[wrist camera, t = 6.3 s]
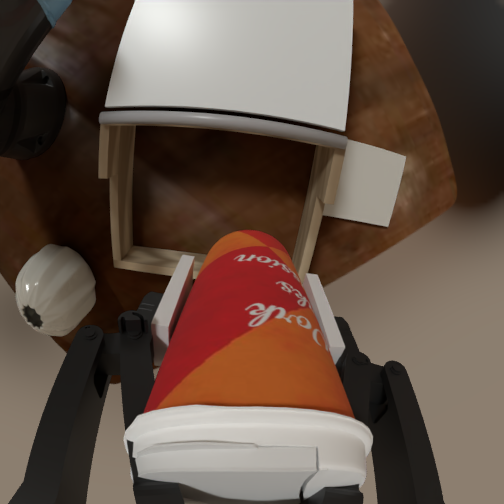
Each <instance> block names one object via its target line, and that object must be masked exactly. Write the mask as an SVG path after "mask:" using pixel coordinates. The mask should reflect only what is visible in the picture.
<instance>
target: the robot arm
mask: <svg viewBox="0 0 504 504" xmlns="http://www.w3.org/2000/svg"><path fill="white" fill-rule="evenodd" d="M71 2H72V0H0V156H1V157H7V158H12V159H18V160H26V159H30V158H33V157H36V156H39V155H40V154H42V153H43V152H45V151H46V150H47V149H48V148H49V147H50V146H51V144H52V143H53V142H54V140H55V138H56V137H57V135H58V133H59V130H60V128H61V125H62V122H63V118H64V113H65V102H66V100H65V90H64V86H63V83H62V81H61V79H60V77H59V76H58V75H57V74H56V73H55V72H54V71H53V70H51V69H47V68H39V67H35V68H30V69H27V70H24V68H25V66H26V65H27V63H28V61H29V60H30V58H31V57H32V55H33V54H34V52H35V51H36V49H37V48H38V46H39V45H40V44H41V42H42V41H43V39H44V38H45V37H46V35H47V34H48V33H49V31H50V30H51V29H52V28H54V27H55V25H56V22H57V20H58V19H59V18H60V16H61V15H62V14H63V12H64V11H65V10H66V9H67V7H68V6H69V5H70V4H71ZM23 70H24V71H23ZM194 257H195V256H189V255H182V257H181V259H180V261H179V263H178V265H177V267H176V269H175V271H174V273H173V276H172V278H171V280H170V282H169V284H168V286H167V289H166V291H165V293H164V294H161V293H156V292H150V293H148V294H147V295H146V296H144V298H143V300H142V302H141V304H140V306H139V308H138V309H137V311H133V310H131V311H126V312H124V313H122V314H121V315H120V316H119V317H118V327H119V333H111V334H103V331H102V329H101V328H99V327H98V326H95V325H87V326H83V327H82V328H80V329H79V330H78V332H77V333H76V336H75V338H74V340H73V342H72V344H71V346H70V348H69V350H68V353H67V355H66V357H65V359H64V361H63V364H62V366H61V368H60V371H59V373H58V375H57V378H56V380H55V383H54V385H53V388H52V390H51V393H50V395H49V398H48V401H47V403H46V406H45V409H44V412H43V414H42V417H41V420H40V423H39V426H38V429H37V433H36V436H35V439H34V443H33V446H32V450H31V453H30V457H29V461H28V465H27V469H26V473H25V478H24V482H23V483H22V484H21V486H20V487H19V489H18V490H17V492H16V493H15V495H14V496H13V497H12V499H11V500H10V502H9V503H8V504H86V499H87V491H88V484H89V477H90V470H91V464H92V458H93V453H94V448H95V442H96V437H97V433H98V428H99V424H100V418H101V415H102V411H103V406H104V402H105V398H106V395H107V391H108V387H109V383H110V380H111V376H112V375H121V390H122V403H123V414H124V423H125V431H126V429H127V428H128V427H129V426H130V425H131V424H132V422H133V421H134V420H135V418H136V417H137V416H138V415H141V414H143V413H144V410H145V408H146V405H147V402H148V399H149V397H150V394H151V391H152V389H153V386H154V383H155V380H154V374H153V367H152V362H153V359H154V365H156V366H161V363H162V361H163V358H164V356H165V353H166V350H167V348H168V345H169V343H170V340H171V338H172V335H173V333H174V330H175V328H176V325H177V323H178V320H179V318H180V315H181V313H182V311H183V308H184V306H185V303H186V301H187V299H188V296H189V294H190V292H191V289H192V281H193V268H194ZM303 287H304V289H305V292H306V294H307V296H308V299H309V301H310V304H311V306H312V308H313V311H314V313H315V316H316V318H317V321H318V323H319V325H320V328H321V330H322V333H323V335H324V338H325V341H326V343H327V346H328V348H329V351H330V353H331V356H332V358H333V361H334V364H335V366H336V369H337V371H338V374H339V377H340V379H341V382H342V384H343V387H344V390H345V392H346V395H347V398H348V400H349V403H350V406H351V409H352V411H353V414H354V417H355V419H356V420H358V421H360V422H362V423H364V424H365V425H366V426H368V428H369V429H370V431H371V433H372V435H373V444H372V447H371V451H372V457H373V465H374V472H375V481H376V490H377V500H378V504H445V503H444V501H443V495H442V490H441V485H440V481H439V476H438V472H437V468H436V464H435V459H434V456H433V452H432V448H431V444H430V441H429V437H428V434H427V430H426V427H425V424H424V420H423V417H422V414H421V411H420V408H419V405H418V402H417V399H416V396H415V393H414V390H413V387H412V384H411V382H410V379H409V376H408V374H407V371H406V369H405V367H404V366H403V365H402V364H401V363H399V362H397V361H388V362H387V363H386V364H385V365H384V366H379V365H376V364H373V363H371V362H370V359H369V358H368V357H367V356H366V355H365V354H364V353H361V352H359V349H358V347H357V344H356V342H355V340H354V337H353V336H352V332H351V331H350V328H349V325H348V323H347V322H346V321H345V320H344V319H343V318H342V317H334V316H333V313H332V311H331V308H330V305H329V303H328V300H327V298H326V295H325V293H324V290H323V288H322V285H321V283H320V280H319V278H318V275H315V274H308V273H306V275H305V278H304V282H303ZM133 443H134V442H132V441H129V440H127V446H128V453H129V458H130V465H131V470H132V475H133V482H134V483H133V491H134V496H135V500H136V504H185V503H184V500H183V497H182V494H181V491H180V488H179V484H178V483H175V482H163V481H156V480H150V479H146V478H141V477H138V470H137V465H136V461H135V458H134V457H132V456H133ZM299 498H300V501H301V503H299V504H363V493H361V492H360V491H359V484H355V485H349V486H343V487H324V488H322V489H321V490H319V491H318V492H316V493H315V494H313V495H312V496H310V497H309V498H307V499H306V500H304V497H303V490H302V491H301V492H300V495H299Z"/></svg>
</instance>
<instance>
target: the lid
mask: <svg viewBox="0 0 504 504" xmlns="http://www.w3.org/2000/svg"><path fill="white" fill-rule="evenodd" d="M352 36H353V0H135V3H134V5H133V8H132V11H131V13H130V16H129V19H128V22H127V24H126V27H125V30H124V33H123V36H122V40H121V43H120V46H119V49H118V53H117V56H116V60H115V64H114V68H113V71H112V75H111V80H110V84H109V88H108V93H107V98H106V103H105V107H106V108H121V107H173V108H194V109H208V110H219V111H229V112H238V113H246V114H254V115H261V116H267V117H273V118H279V119H285V120H291V121H296V122H301V123H306V124H311V125H315V126H320V127H324V128H329V129H333V130H337V131H341V132H343V131H345V126H346V117H347V107H348V97H349V86H350V73H351V57H352ZM99 123H100V124H169V125H187V126H201V127H213V128H223V129H232V130H240V131H248V132H255V133H262V134H269V135H275V136H281V137H287V138H292V139H298V140H303V141H308V142H313V143H318V144H322V145H327V146H331V147H336V148H340V149H345V148H346V146H347V142H348V139H347V137H346V136H342V135H338V134H334V133H330V132H325V131H321V130H316V129H312V128H307V127H302V126H297V125H292V124H286V123H281V122H275V121H268V120H262V119H255V118H247V117H240V116H231V115H221V114H210V113H197V112H180V111H109V112H101V113H100V115H99Z"/></svg>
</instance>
